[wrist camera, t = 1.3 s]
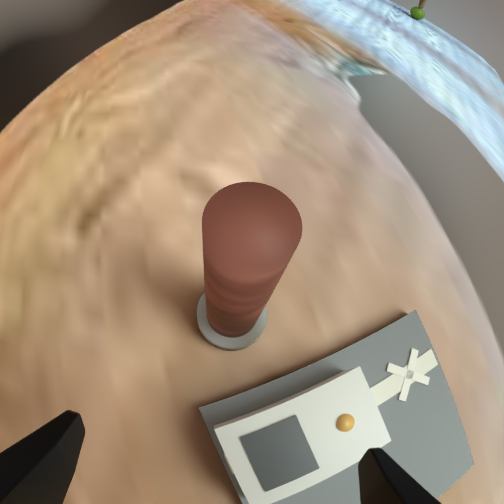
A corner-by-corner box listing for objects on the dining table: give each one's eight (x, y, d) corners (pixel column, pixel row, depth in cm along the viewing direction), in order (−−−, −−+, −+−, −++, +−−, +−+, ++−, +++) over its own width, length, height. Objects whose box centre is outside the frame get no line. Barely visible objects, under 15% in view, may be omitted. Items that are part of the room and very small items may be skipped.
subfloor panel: (285, 576, 13) (289, 584, 12) (199, 407, 20) (198, 407, 19) (466, 463, 18) (475, 464, 17) (408, 313, 25) (416, 309, 24)
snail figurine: (410, 18, 74) (420, -7, 64) (407, 13, 77) (417, -11, 67) (423, 24, 74) (434, -1, 64) (420, 19, 77) (430, -4, 67)
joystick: (211, 360, 22) (208, 308, 10) (188, 298, 23) (167, 185, 11) (274, 337, 23) (343, 261, 11) (249, 278, 25) (285, 158, 13)
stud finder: (247, 498, 16) (252, 511, 14) (214, 425, 18) (214, 429, 16) (373, 438, 19) (392, 440, 16) (344, 370, 21) (360, 365, 19)
